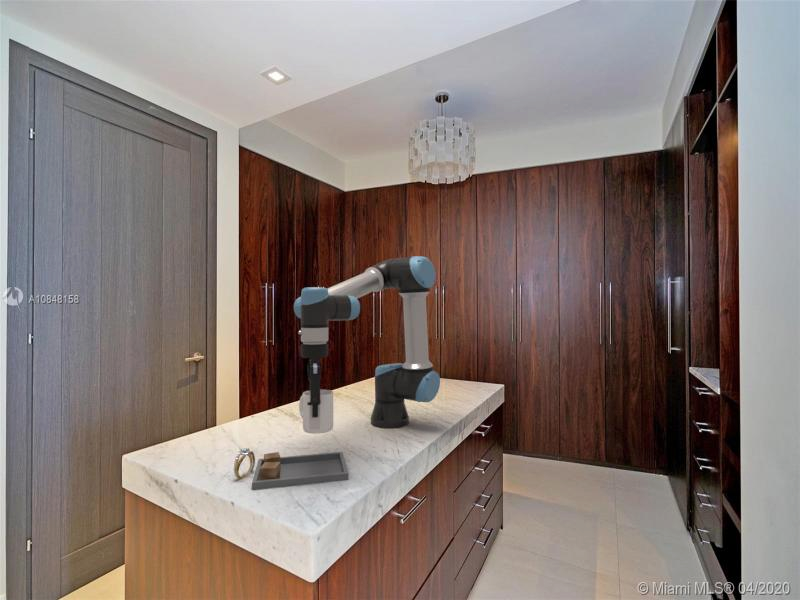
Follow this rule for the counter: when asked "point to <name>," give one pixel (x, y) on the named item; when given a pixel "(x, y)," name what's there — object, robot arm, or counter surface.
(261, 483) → the tray
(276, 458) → the block
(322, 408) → the cup
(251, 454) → the ring
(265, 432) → the counter surface
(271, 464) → the block
